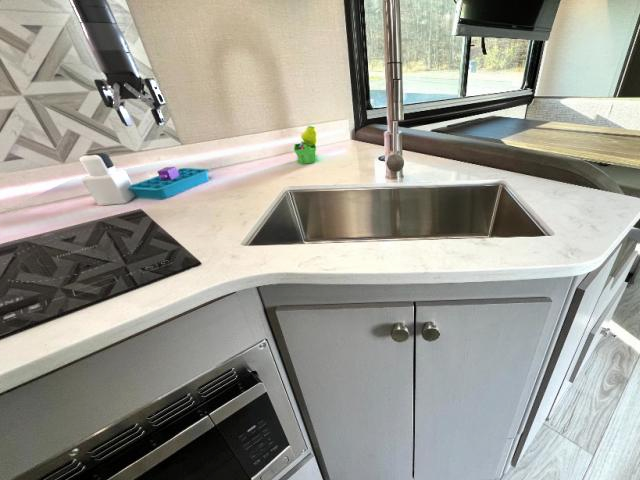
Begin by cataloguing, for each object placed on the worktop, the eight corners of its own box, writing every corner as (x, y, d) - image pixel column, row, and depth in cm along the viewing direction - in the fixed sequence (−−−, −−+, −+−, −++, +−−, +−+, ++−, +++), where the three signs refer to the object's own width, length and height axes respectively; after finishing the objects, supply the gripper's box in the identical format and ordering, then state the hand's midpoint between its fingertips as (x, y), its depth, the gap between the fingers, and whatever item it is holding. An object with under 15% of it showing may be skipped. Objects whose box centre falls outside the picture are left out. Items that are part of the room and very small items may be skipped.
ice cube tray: (214, 179, 102) (211, 169, 100) (162, 201, 86) (157, 190, 85) (185, 177, 104) (181, 167, 102) (130, 198, 89) (124, 187, 87)
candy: (158, 181, 91) (154, 172, 89) (172, 174, 96) (168, 166, 95) (169, 181, 91) (165, 172, 89) (181, 174, 96) (178, 165, 95)
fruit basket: (297, 158, 121) (289, 125, 114) (320, 156, 122) (314, 123, 115) (297, 165, 112) (289, 130, 105) (322, 163, 114) (316, 128, 107)
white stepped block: (112, 197, 90) (85, 152, 83) (139, 195, 91) (114, 150, 84) (97, 206, 85) (67, 158, 77) (126, 203, 86) (99, 156, 78)
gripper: (67, 49, 72) (109, 128, 82) (129, 47, 72) (163, 127, 82) (92, 50, 78) (128, 124, 88) (149, 48, 78) (179, 122, 88)
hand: (145, 125), depth 85 cm, fingers open, 8 cm apart
